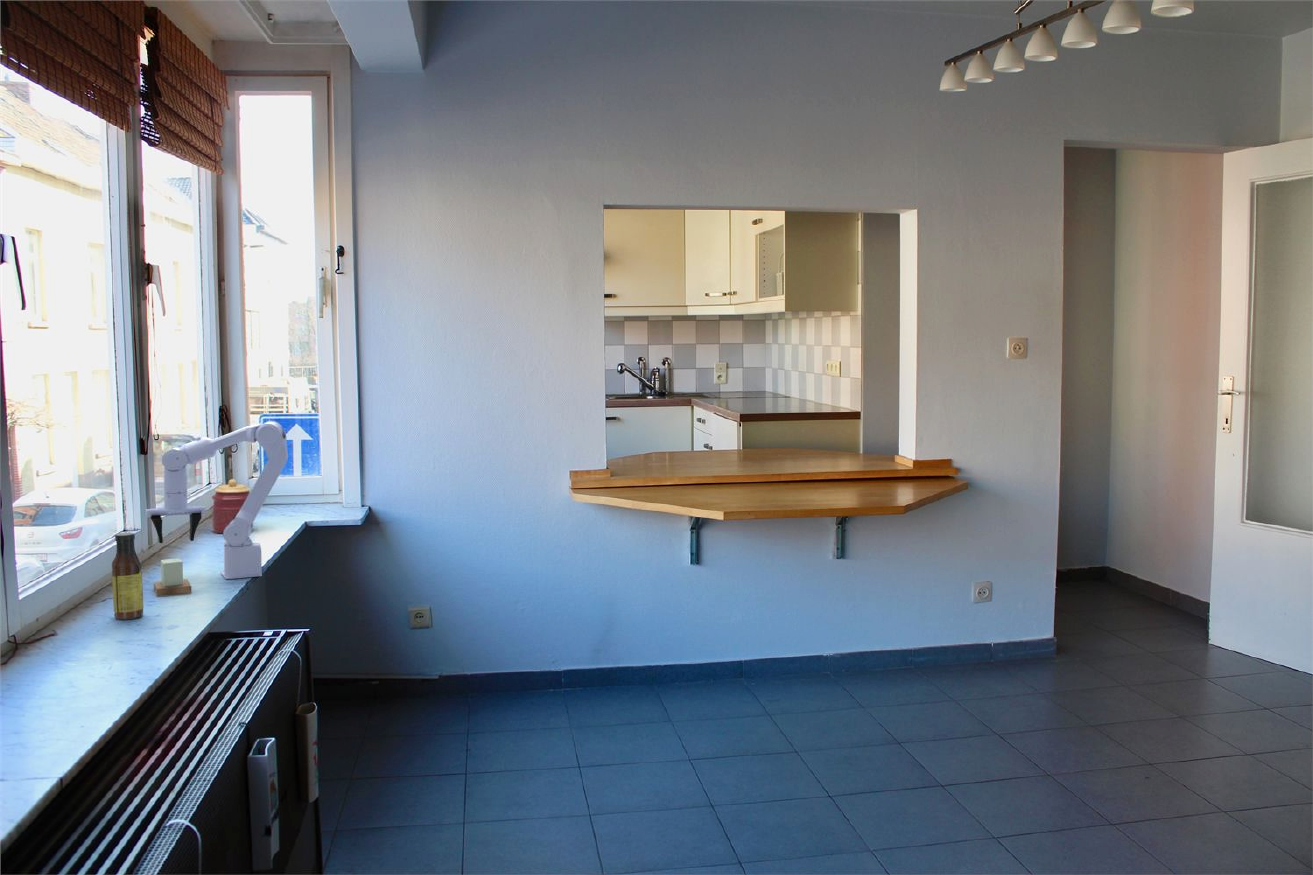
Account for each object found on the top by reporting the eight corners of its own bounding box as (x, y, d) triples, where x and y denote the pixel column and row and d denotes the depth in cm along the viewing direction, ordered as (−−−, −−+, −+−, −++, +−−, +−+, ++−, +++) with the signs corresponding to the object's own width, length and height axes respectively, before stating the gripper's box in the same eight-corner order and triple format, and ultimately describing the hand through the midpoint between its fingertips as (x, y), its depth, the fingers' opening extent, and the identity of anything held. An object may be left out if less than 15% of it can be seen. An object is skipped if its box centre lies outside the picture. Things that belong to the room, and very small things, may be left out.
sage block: (180, 580, 264) (179, 558, 263) (183, 584, 260) (182, 561, 259) (161, 582, 261) (160, 560, 260) (164, 586, 257) (163, 563, 257)
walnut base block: (187, 588, 266) (187, 579, 266) (191, 595, 259) (191, 585, 259) (153, 591, 262) (153, 581, 261) (157, 598, 255) (156, 588, 255)
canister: (243, 535, 334) (243, 482, 333) (205, 533, 334) (204, 481, 333) (259, 527, 347) (259, 477, 346) (222, 526, 347) (221, 476, 346)
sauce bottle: (149, 615, 238) (148, 532, 236) (128, 621, 232) (126, 537, 230) (128, 611, 240) (126, 530, 238) (106, 618, 234) (104, 534, 233)
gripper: (147, 495, 266) (148, 546, 267) (207, 492, 274) (207, 541, 275) (144, 491, 272) (145, 541, 273) (202, 489, 280) (203, 537, 281)
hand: (176, 541), depth 274 cm, fingers open, 7 cm apart
